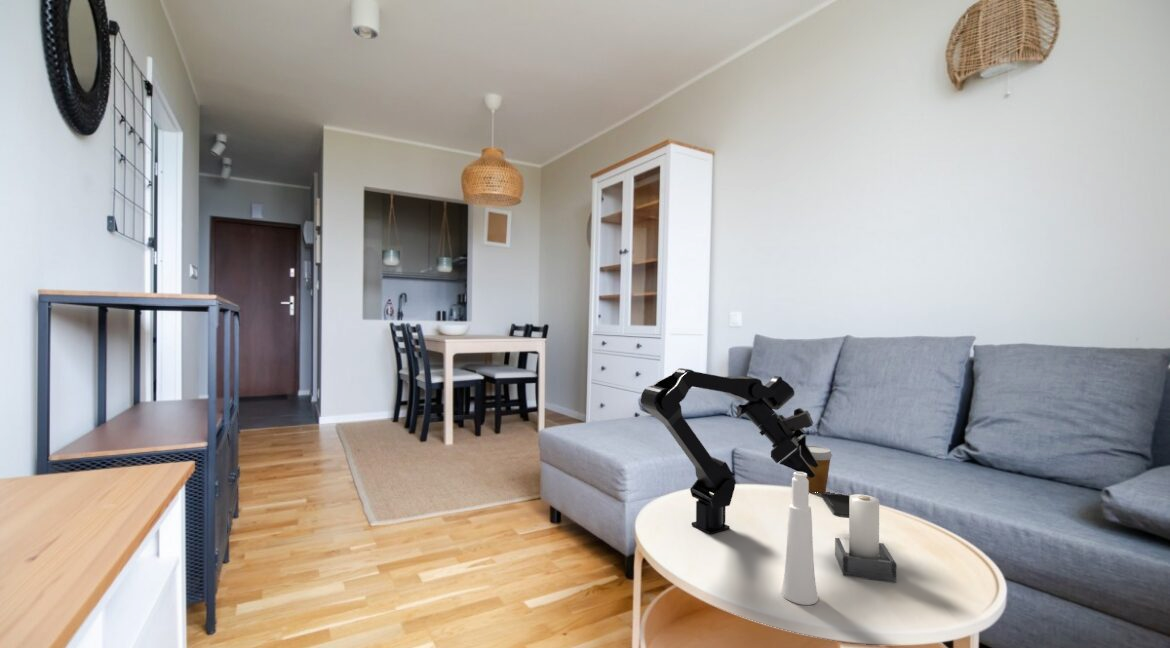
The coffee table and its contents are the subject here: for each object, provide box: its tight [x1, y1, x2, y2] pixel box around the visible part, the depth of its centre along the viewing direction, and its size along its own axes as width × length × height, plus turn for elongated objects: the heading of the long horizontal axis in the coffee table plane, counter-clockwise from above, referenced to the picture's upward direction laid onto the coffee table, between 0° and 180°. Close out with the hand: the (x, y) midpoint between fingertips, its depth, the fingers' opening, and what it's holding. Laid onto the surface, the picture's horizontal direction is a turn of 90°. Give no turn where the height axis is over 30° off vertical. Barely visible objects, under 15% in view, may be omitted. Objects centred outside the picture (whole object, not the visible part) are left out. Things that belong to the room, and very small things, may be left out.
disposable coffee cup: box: [806, 444, 833, 494], centre depth 147 cm, size 10×10×12 cm
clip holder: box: [834, 537, 897, 583], centre depth 101 cm, size 9×9×4 cm
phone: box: [821, 493, 850, 518], centre depth 134 cm, size 8×1×15 cm
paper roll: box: [848, 493, 880, 560], centre depth 101 cm, size 5×5×13 cm
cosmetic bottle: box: [781, 471, 819, 606], centre depth 90 cm, size 6×6×22 cm
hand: (815, 471), depth 119 cm, fingers open, 9 cm apart
